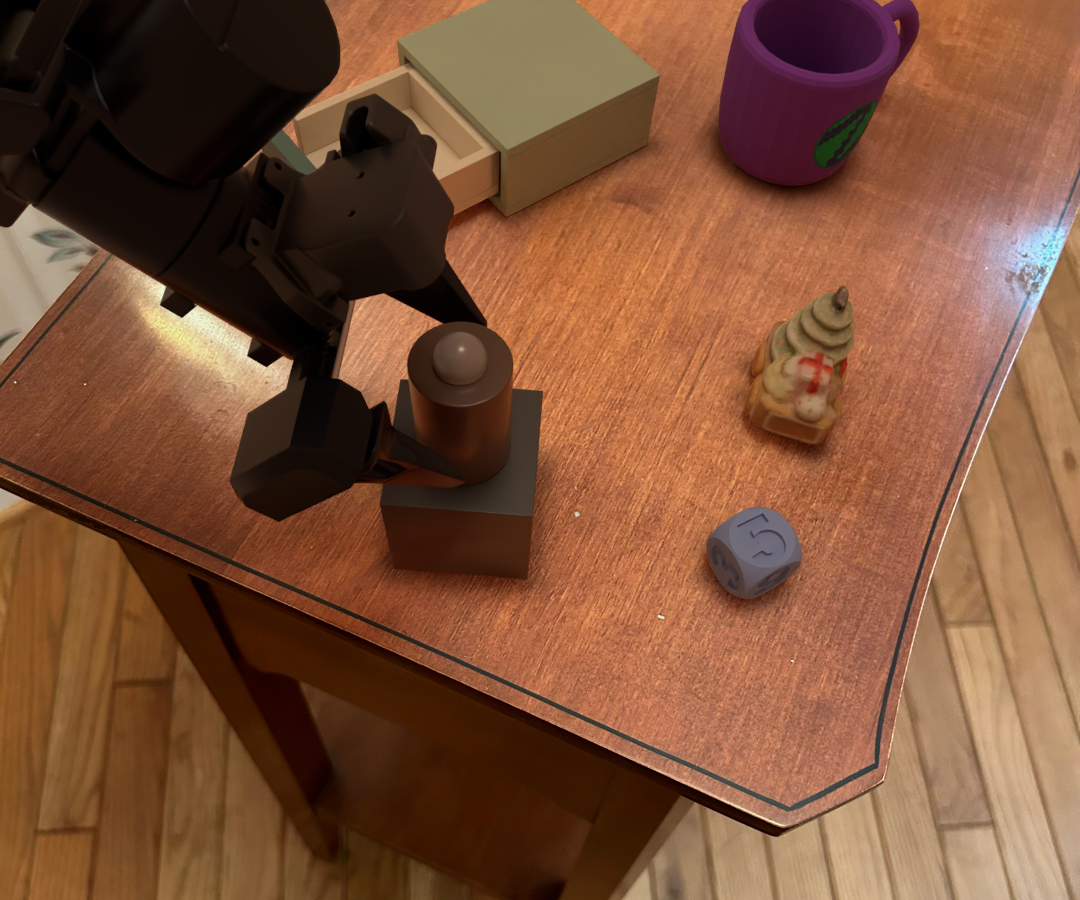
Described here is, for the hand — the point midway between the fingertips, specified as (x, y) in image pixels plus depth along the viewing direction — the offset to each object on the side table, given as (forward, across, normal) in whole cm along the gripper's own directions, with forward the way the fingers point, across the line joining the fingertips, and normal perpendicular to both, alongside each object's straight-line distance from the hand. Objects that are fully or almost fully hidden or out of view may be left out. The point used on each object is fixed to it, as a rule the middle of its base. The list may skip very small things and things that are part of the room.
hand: (471, 402), depth 47 cm
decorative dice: (+20, -2, -3) cm, 21 cm away
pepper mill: (+2, 0, +3) cm, 4 cm away
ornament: (+23, +11, -5) cm, 26 cm away
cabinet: (+8, +34, +9) cm, 37 cm away
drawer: (0, +25, +16) cm, 29 cm away
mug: (+24, +37, -7) cm, 45 cm away
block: (+8, 0, +9) cm, 12 cm away
